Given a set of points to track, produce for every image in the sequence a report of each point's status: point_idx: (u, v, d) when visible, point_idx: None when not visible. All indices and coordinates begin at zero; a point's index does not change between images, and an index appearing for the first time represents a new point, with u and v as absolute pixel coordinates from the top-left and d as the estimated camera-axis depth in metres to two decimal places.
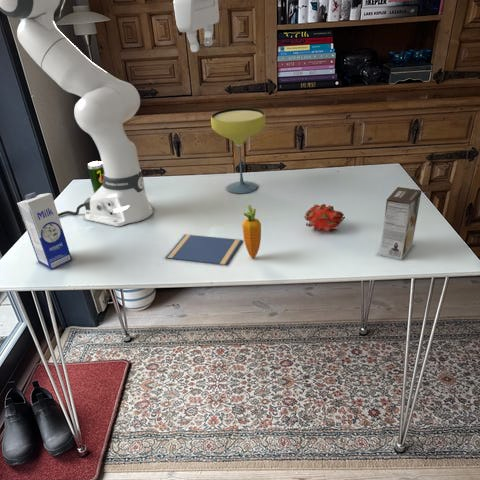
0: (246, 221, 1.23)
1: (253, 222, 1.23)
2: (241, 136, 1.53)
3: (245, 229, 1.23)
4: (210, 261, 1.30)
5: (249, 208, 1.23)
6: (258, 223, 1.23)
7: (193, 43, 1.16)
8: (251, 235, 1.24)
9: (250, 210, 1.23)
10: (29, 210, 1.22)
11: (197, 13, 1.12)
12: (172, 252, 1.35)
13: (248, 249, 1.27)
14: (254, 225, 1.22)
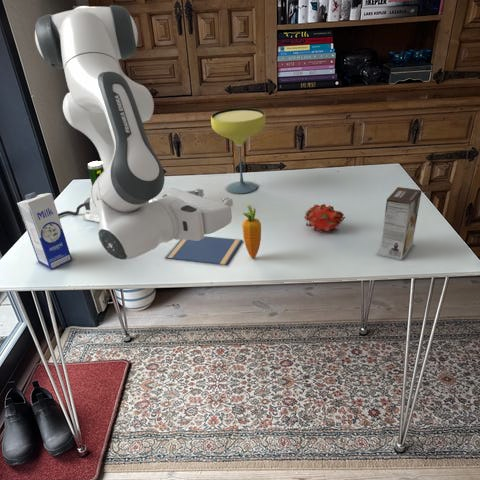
0: (246, 221, 1.23)
1: (253, 222, 1.23)
2: (241, 136, 1.53)
3: (245, 229, 1.23)
4: (210, 261, 1.30)
5: (249, 208, 1.23)
6: (258, 223, 1.23)
7: (227, 204, 1.06)
8: (251, 235, 1.24)
9: (250, 210, 1.23)
10: (29, 210, 1.22)
11: (206, 206, 1.02)
12: (172, 252, 1.35)
13: (248, 249, 1.27)
14: (254, 225, 1.22)
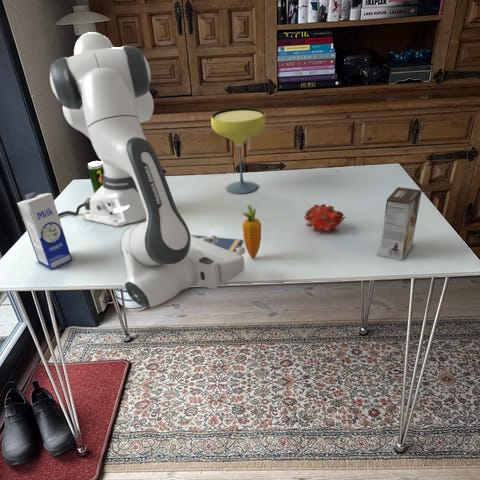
0: (246, 221, 1.23)
1: (253, 222, 1.23)
2: (241, 136, 1.53)
3: (245, 229, 1.23)
4: None
5: (249, 208, 1.23)
6: (258, 223, 1.23)
7: (240, 252, 1.16)
8: (251, 235, 1.24)
9: (250, 210, 1.23)
10: (29, 210, 1.22)
11: (221, 255, 1.12)
12: None
13: (248, 249, 1.27)
14: (254, 225, 1.22)
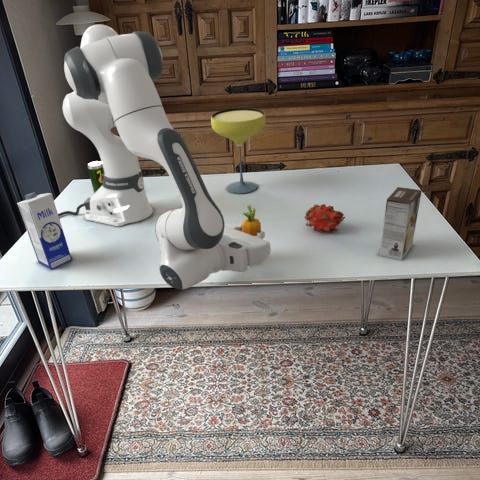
0: (246, 221, 1.23)
1: (253, 222, 1.23)
2: (241, 136, 1.53)
3: (245, 229, 1.23)
4: None
5: (249, 208, 1.23)
6: (258, 223, 1.23)
7: (260, 236, 1.23)
8: (250, 234, 1.24)
9: (250, 210, 1.23)
10: (29, 210, 1.22)
11: (248, 241, 1.18)
12: None
13: None
14: (253, 224, 1.22)
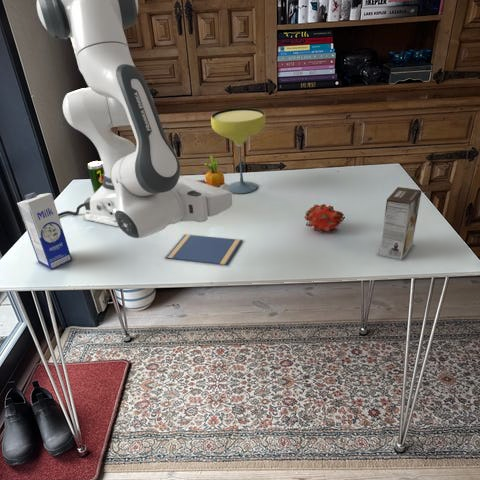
0: (209, 173, 1.20)
1: (216, 173, 1.19)
2: (241, 136, 1.53)
3: (208, 181, 1.20)
4: (210, 261, 1.30)
5: (211, 159, 1.19)
6: (221, 175, 1.20)
7: (223, 189, 1.20)
8: None
9: (212, 161, 1.19)
10: (29, 210, 1.22)
11: (209, 191, 1.14)
12: (172, 252, 1.35)
13: None
14: (216, 176, 1.19)
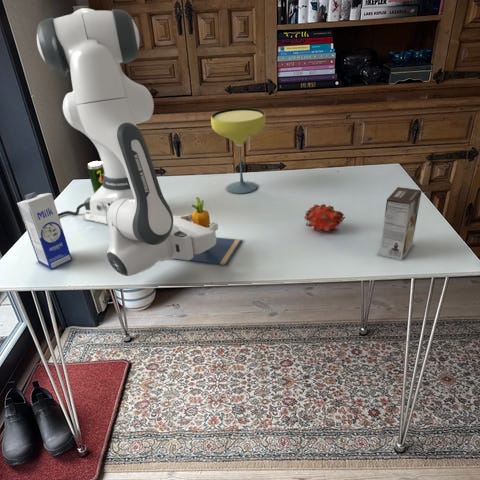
0: (195, 212, 1.29)
1: (201, 213, 1.28)
2: (241, 136, 1.53)
3: (194, 220, 1.29)
4: (210, 261, 1.30)
5: (197, 200, 1.28)
6: (206, 214, 1.28)
7: (213, 228, 1.27)
8: None
9: (198, 202, 1.28)
10: (29, 210, 1.22)
11: (195, 230, 1.23)
12: None
13: None
14: (202, 216, 1.28)
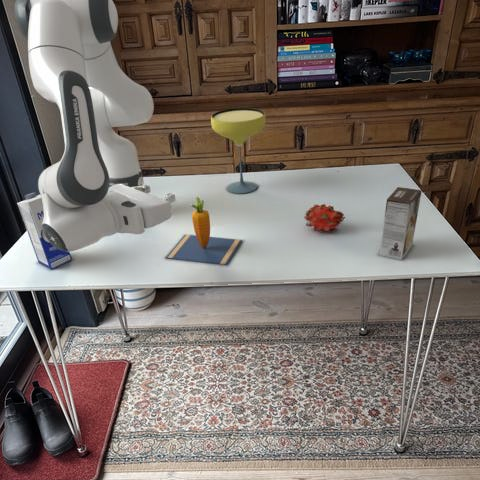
0: (195, 212, 1.29)
1: (201, 213, 1.28)
2: (241, 136, 1.53)
3: (194, 220, 1.29)
4: (210, 261, 1.30)
5: (197, 200, 1.28)
6: (206, 214, 1.28)
7: (169, 199, 1.12)
8: (199, 225, 1.29)
9: (198, 202, 1.28)
10: (29, 210, 1.22)
11: (147, 201, 1.08)
12: (172, 252, 1.35)
13: (198, 239, 1.33)
14: (202, 216, 1.28)
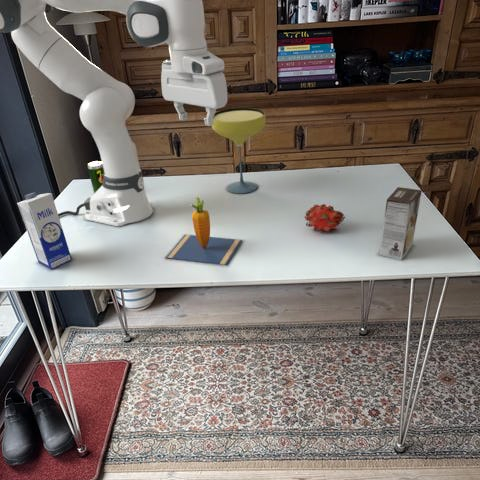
0: (195, 212, 1.29)
1: (201, 213, 1.28)
2: (241, 136, 1.53)
3: (194, 220, 1.29)
4: (210, 261, 1.30)
5: (197, 200, 1.28)
6: (206, 214, 1.28)
7: (211, 117, 1.17)
8: (199, 225, 1.29)
9: (198, 202, 1.28)
10: (29, 210, 1.22)
11: None
12: (172, 252, 1.35)
13: (198, 239, 1.33)
14: (202, 216, 1.28)
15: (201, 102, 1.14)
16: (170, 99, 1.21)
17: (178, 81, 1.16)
